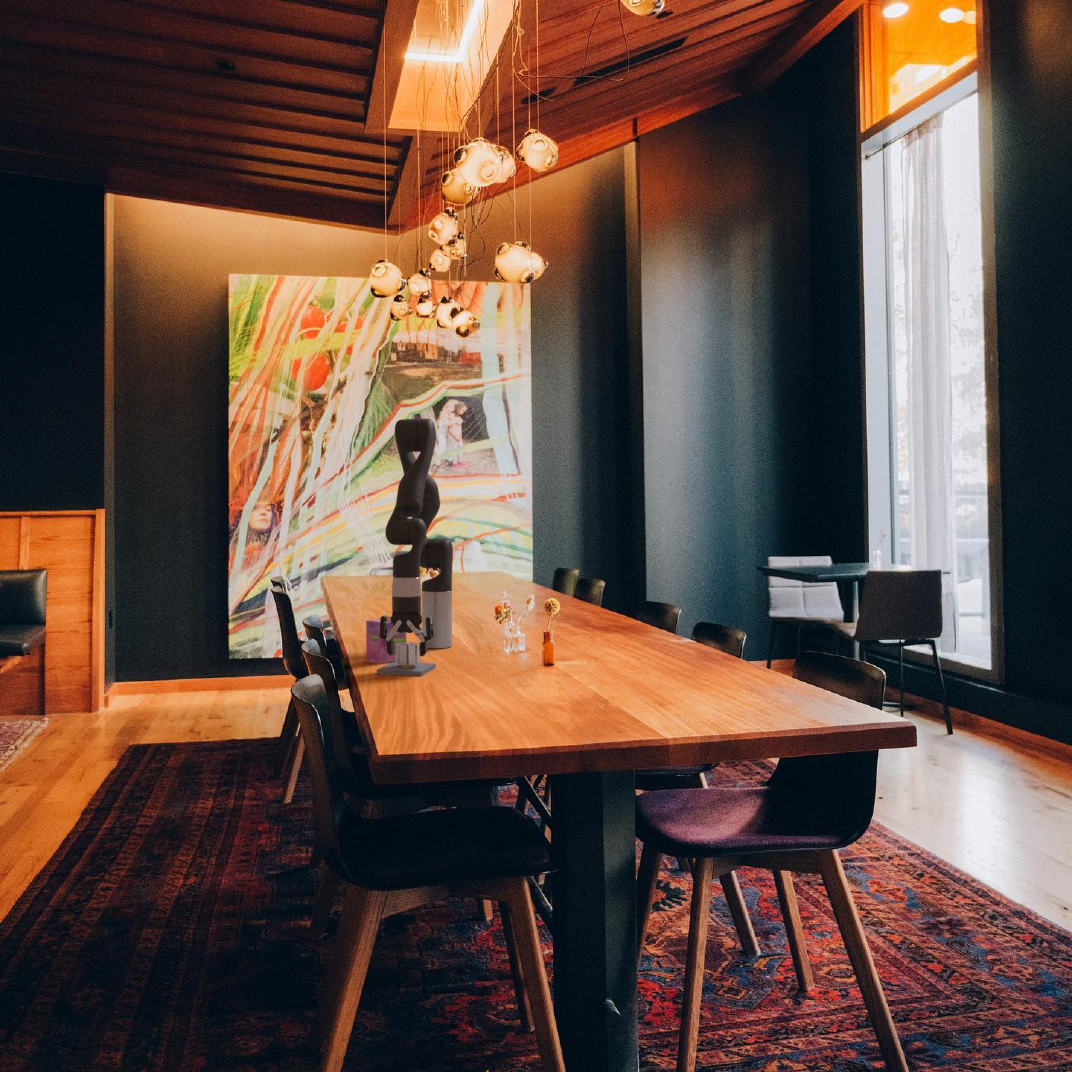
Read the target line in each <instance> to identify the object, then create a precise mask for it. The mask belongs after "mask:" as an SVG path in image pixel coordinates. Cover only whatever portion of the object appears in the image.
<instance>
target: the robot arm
mask: <svg viewBox="0 0 1072 1072" xmlns="http://www.w3.org/2000/svg"><path fill="white" fill-rule="evenodd" d="M436 428H437V427H436V425H435V422H434V421H433V420H432V419H430V418H404V419H403V418H402V419H398V420H397V421H396V422H395V425H394V439H395V443H396V449H397V453H398V457H399V459H400V463H401V466H402V471H403V475H402V477H401V479H400V481H399V483H398V486H397V487H398V488H397V494H396V502H395V506H394V507H393V511H392V513H391V515H390V517H389V519H388V521H387V524H386V526H385V532H384V533H385V538H386V540H387V542H388V543H389V544H390V545H392V546H393V545H394V546H411V548H410V550H409V551H407V552H405V553H400V554H396V555H395V556H393V559H392V582H391V583H392V584H391V605H392V606H391V614H392V615H389V616H388V614H385V615H382V616H380V618H379V619H380V636H379V637H380V638H381V639H385V640H386V641H387V653H389V655H391V656H392V655H394V641H393V638H394V637H395V636H396V634H397V633H398V632H400V633H404V632H406V634H414V635H415V636H416V637H417V639H418V640H419V641H420V642H419V657H425V655H426V654H427V652H428V649H447V648H451V647H452V646H453V596H452V595H453V593H452V592H453V591H452V590H453V588H452V587H453V563H454V562H453V560H454V546H453V543H452V540H451V539H450V538H428V536H427V532H428V529H429V528H430V525H431V524H432V522H433V521H434V519H436V516H437V514H438V513H439V511H440V507H441V498H440V491H439V488H438V483H437V482H436V481H435V479H434V478H433V477H432V475H430V473H429V470H430V467H431V465H432V459H433V456H434V452H435V447H436V442H437V430H436ZM414 453H419V454H418V457H417V458H416V455H415V454H414ZM421 569H437V570H438V569H440V572H439V573H438V574H437V575H436V576H434V577H432V578H429V579H426V580H424V581H423V582H422V583H421V577H420V576H421ZM390 620H391V622H392V623H393V625H394V627H393V628H392V630H391V631H390V633H389V635H388V634H387V627H388V624H389V623H390ZM420 625H421V626H420Z"/></svg>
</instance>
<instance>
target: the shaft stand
mask: <svg viewBox="0 0 1072 1072" xmlns="http://www.w3.org/2000/svg"><path fill="white" fill-rule="evenodd" d="M404 645H410V643H404ZM436 666H437V665H436V663H434V662H433V663H432V662H431V663H430V662H428V663H427V662H419V663H417V664H411V665H408V664H407V665H400V664H396V663H395V661H393V662H389V663H388V664H386V665H383V666H382V667H380V668H376V675H383V676H384V675H385V676H386V675H387V676H409V677H423V676H424V675H425V674H427V673H429V672H431V671H433V670H435V669H436V668H437V667H436Z"/></svg>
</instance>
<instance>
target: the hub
mask: <svg viewBox="0 0 1072 1072" xmlns="http://www.w3.org/2000/svg"><path fill="white" fill-rule="evenodd" d="M404 643H410V645H404ZM394 662H395V663H396V664H400V665H407V664H408V665H411V664H417V663H420V642H416V641H406V642H400V643H396V644H395V661H394Z"/></svg>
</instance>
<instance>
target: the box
mask: <svg viewBox="0 0 1072 1072" xmlns="http://www.w3.org/2000/svg"><path fill="white" fill-rule="evenodd" d="M365 627H366V628H365V629H366V630H365V632H366V633H365V635H366V636H365V638H366V639H365V640H366V643H365V644H366V645H365V647H366V650H365V651H366V652H365V653H366V654H365V655H366V657H365V659H366V663H369V664H376V665H383V664H387V663H388V664H389V663H392V662H395V644H396V643H400V642H407V633H406V632H404V633H400V632H398V633H397V634H396V636H395V637H394V638H393V641H394V655H392V656H391V655H389V653H387V641H386V640H385V639H381V638H380V637H379V636H380V618H376V619H368V620H366V625H365ZM393 627H394V625H393V623H392V622H391V620H390V623H389V624H388V627H387V634H388V635H389V633H390V631H391V630H392V628H393Z"/></svg>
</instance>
